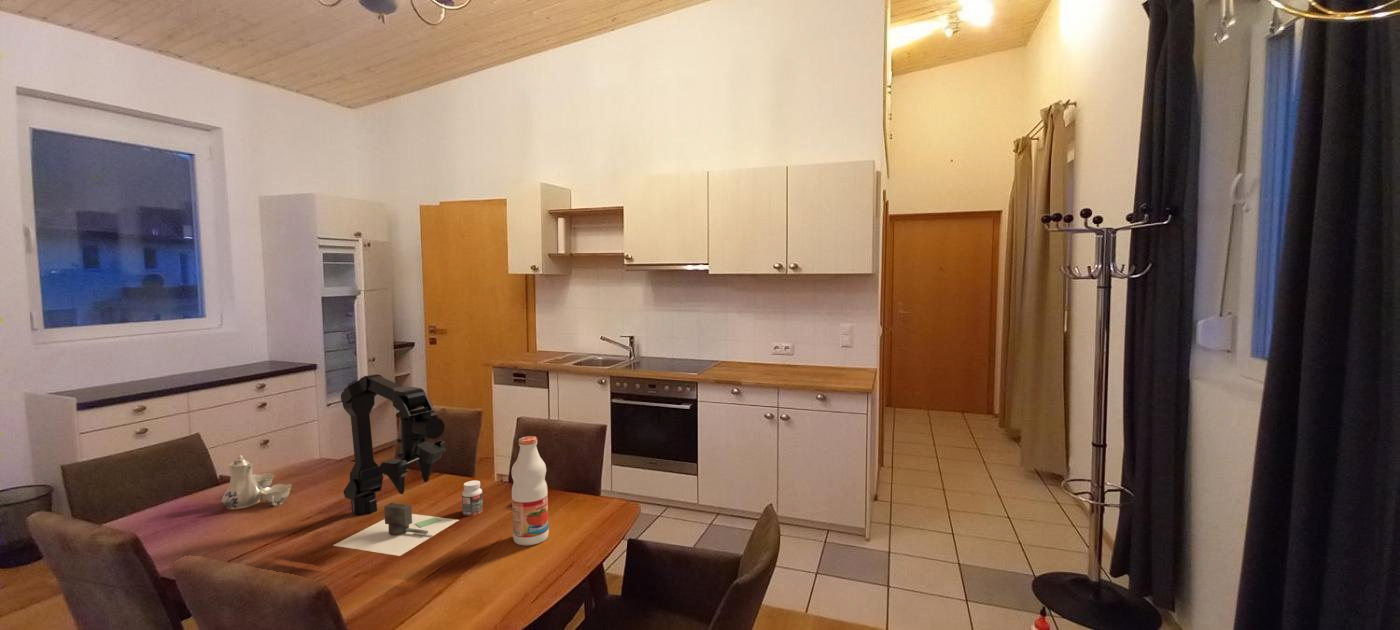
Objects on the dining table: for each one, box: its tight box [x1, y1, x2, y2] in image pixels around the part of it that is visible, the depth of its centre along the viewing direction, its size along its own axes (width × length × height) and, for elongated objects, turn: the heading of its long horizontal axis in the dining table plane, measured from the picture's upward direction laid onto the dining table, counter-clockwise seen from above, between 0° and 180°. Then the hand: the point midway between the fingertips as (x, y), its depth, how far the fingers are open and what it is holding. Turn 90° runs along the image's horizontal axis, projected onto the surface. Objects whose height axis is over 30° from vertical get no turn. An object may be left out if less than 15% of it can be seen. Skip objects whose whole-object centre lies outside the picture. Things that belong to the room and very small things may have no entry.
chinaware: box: [220, 454, 293, 510], centre depth 183 cm, size 28×17×17 cm, turn 58°
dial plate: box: [333, 513, 460, 557], centre depth 157 cm, size 22×22×1 cm
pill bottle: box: [461, 480, 484, 517], centre depth 170 cm, size 6×6×10 cm
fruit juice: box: [511, 435, 550, 546], centre depth 153 cm, size 9×9×28 cm
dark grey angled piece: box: [383, 502, 428, 535], centre depth 156 cm, size 13×5×7 cm, turn 74°
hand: (414, 487), depth 159 cm, fingers open, 9 cm apart
